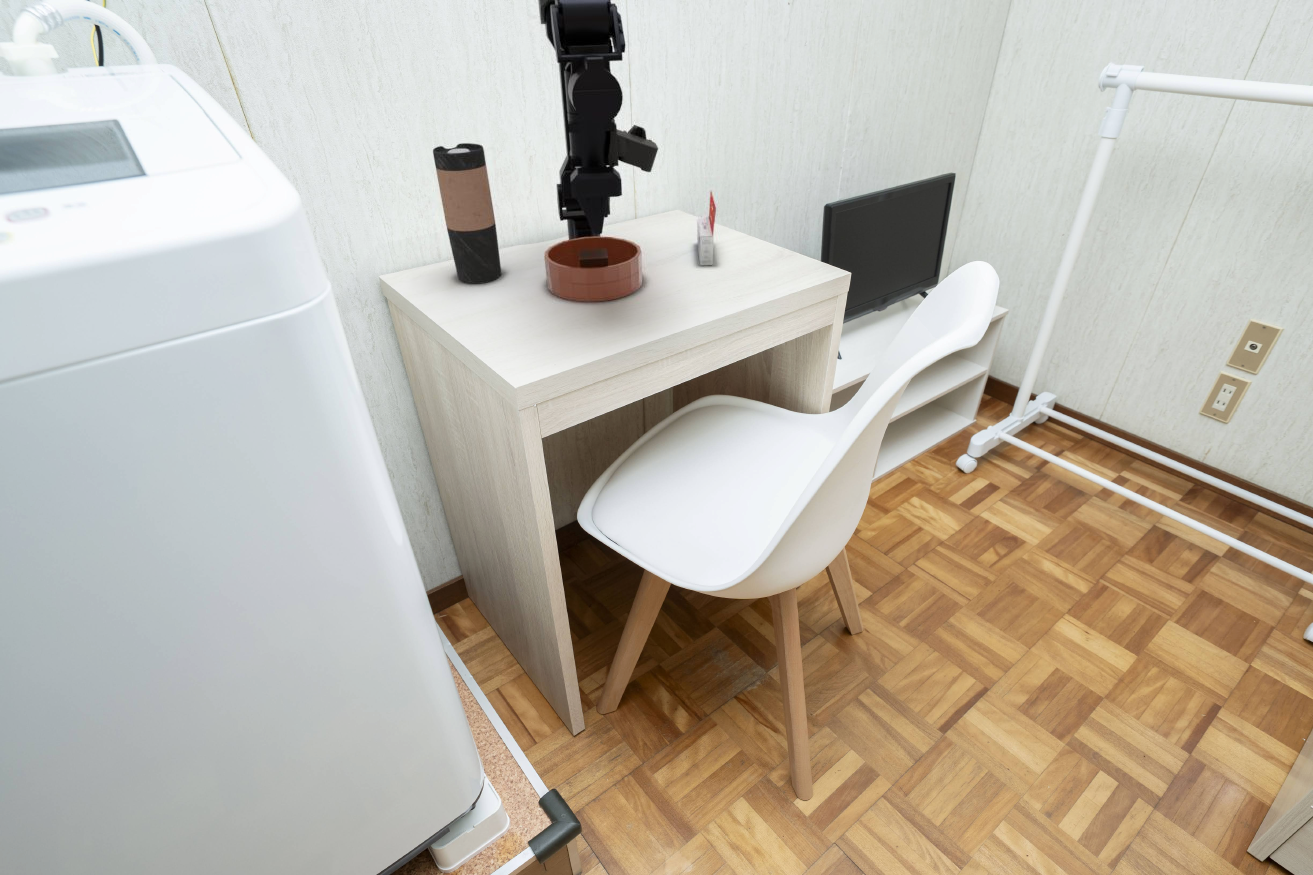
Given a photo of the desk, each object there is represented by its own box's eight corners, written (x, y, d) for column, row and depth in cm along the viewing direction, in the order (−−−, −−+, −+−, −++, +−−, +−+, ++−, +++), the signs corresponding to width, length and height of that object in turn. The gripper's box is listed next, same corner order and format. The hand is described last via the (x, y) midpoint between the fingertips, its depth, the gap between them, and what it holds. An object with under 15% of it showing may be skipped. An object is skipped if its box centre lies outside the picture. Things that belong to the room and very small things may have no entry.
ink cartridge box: (699, 266, 114) (701, 207, 108) (696, 244, 123) (697, 189, 117) (714, 265, 114) (716, 207, 108) (709, 244, 123) (711, 189, 117)
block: (581, 276, 109) (578, 249, 107) (607, 274, 110) (606, 248, 107) (581, 286, 106) (579, 259, 103) (609, 284, 106) (607, 257, 104)
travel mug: (492, 285, 108) (470, 154, 96) (448, 282, 109) (422, 153, 98) (510, 269, 114) (491, 143, 102) (468, 266, 115) (446, 142, 104)
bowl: (548, 269, 113) (545, 239, 111) (637, 264, 115) (636, 234, 112) (547, 304, 101) (543, 271, 98) (646, 298, 102) (645, 265, 99)
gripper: (661, 122, 78) (662, 252, 87) (645, 98, 93) (648, 211, 102) (565, 125, 77) (577, 257, 86) (565, 101, 92) (575, 215, 101)
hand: (598, 233), depth 93 cm, fingers closed
